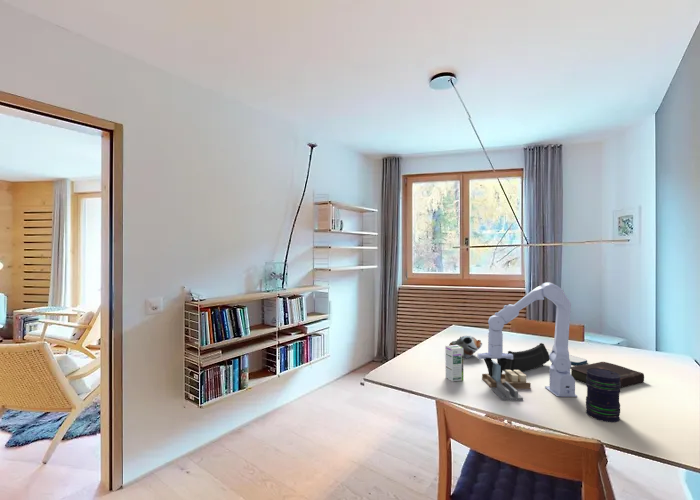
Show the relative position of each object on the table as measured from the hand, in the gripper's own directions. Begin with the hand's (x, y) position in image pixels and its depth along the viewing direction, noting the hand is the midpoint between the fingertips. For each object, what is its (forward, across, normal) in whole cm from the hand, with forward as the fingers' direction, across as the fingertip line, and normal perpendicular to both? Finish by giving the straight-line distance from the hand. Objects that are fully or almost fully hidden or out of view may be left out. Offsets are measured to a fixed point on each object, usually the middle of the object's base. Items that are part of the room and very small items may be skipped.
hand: (495, 375), depth 156 cm
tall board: (+3, 0, 0) cm, 3 cm away
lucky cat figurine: (+4, 0, -40) cm, 40 cm away
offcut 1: (+3, -7, 0) cm, 7 cm away
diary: (+4, -51, -6) cm, 52 cm away
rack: (+3, -4, 0) cm, 6 cm away
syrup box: (+4, +16, -5) cm, 17 cm away
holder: (+3, 0, +12) cm, 12 cm away
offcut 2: (+3, -10, 0) cm, 11 cm away
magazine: (+4, -23, -19) cm, 30 cm away
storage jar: (+4, -26, +29) cm, 39 cm away
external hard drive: (+4, -49, -37) cm, 62 cm away
